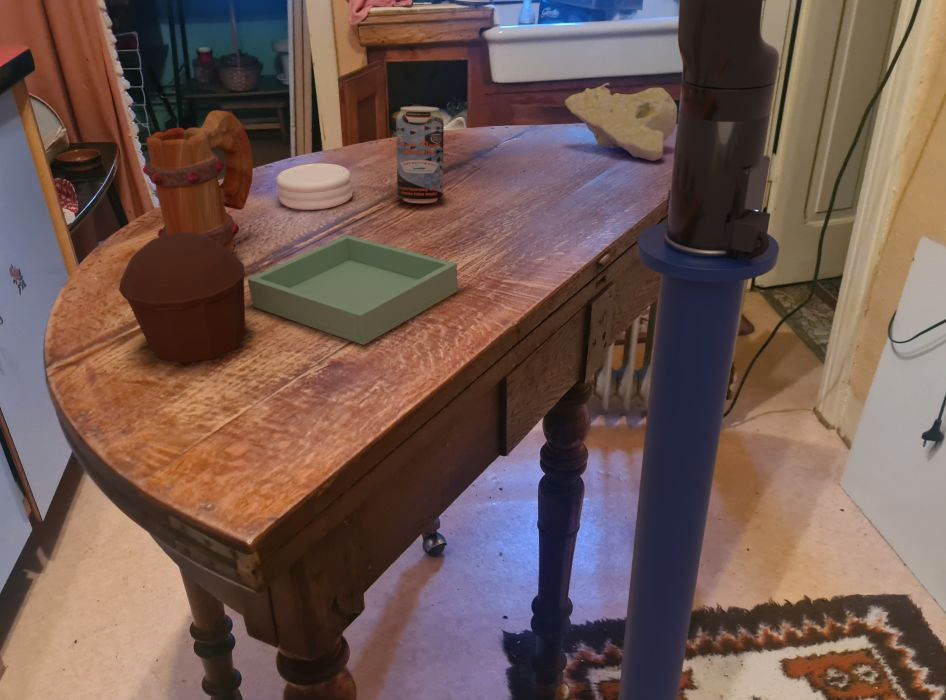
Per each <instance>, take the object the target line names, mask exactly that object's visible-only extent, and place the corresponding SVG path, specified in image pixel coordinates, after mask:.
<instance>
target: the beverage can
mask: <svg viewBox="0 0 946 700" xmlns="http://www.w3.org/2000/svg"><path fill="white" fill-rule="evenodd" d="M444 122H445V121H444V118H443V116H442V114H441V113H440V108H439V107H435V106H412V105H411V106H401V107H400V112H399V113H398V115H397V117H396V121H395V123H396V128H395V129H396V187H397V188H396V190H397V192H396V193H397V196H398V197H400V198H402V201H403V202H406V203H409V204H432V203H436V202H437V201H438V199H439V198H442V197H443V195H444V129H445V128H444V127H445V126H444V125H445V124H444Z"/></svg>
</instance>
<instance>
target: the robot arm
mask: <svg viewBox="0 0 946 700" xmlns="http://www.w3.org/2000/svg"><path fill="white" fill-rule="evenodd" d="M764 1H766V0H679V3H678V4H679V5H678V24H677V44H678V45H677V46H678V49H679V54H680V57H681V62H682V73H681V86H680V94H679V104H678V112H677V122H676V133H675V142H674V143H675V144H674V154H673V162H672V171H671V173H672V174H671V180H670V189H668V191H667V192H668V193H667V202H668V211H667V219H666V222H667V226H666V228H667V230H666V232H665V243H666V245H667V246H668V247H669V248H671V249H673V250H675V251H677V252H679V253H682V254H686V255H690V256H695V257H703V258H730V259H737V258H738V257H739V256H741V255H742V254H743V253H744V252H746V256H747V258H749V259H751V258H754V257H757V256H760V255H762V254H763V253H765V252H766V250H767V249H768V247H769V239H768V237H767V233H768V232H769V225H770V219H771V213H769V212H765V211H763V206H764V200H765V194H766V186H767V181H768V175H769V169H770V164H771V157H770V156H769V155H767V154H765V153H766V148H767V147H766V146H767V141H768V134H769V128H770V121H771V115H772V110H773V103H774V98H775V90H776V84H777V78H778V73H779V65H780V53H779V51H778V49H777V48H776V47H775V46H773V45H771V44H769V43H767V42H766V41H765V40H764V38H763V36H762V33H761V28H762V27H761V25H762V13H763V3H764ZM758 246H759V247H758ZM757 247H758V248H757Z"/></svg>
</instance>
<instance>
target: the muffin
mask: <svg viewBox="0 0 946 700" xmlns="http://www.w3.org/2000/svg"><path fill="white" fill-rule="evenodd" d="M245 271H246V270H245V263H243V262H242V261H241V260H240V259H239V258H238V257H237V256H236V255H235V254H234V253H233V252H232V253H231V252H230V251H229V250H228V249H227V248H225V247H224V246H223V245H221V244H219V243H218V242H216V241H214V240H212V239H210V238H208V237H205V236H202V235H199V234H194V233H174V234H168V235H163V236H161V237H159V236H158V237H156V238H153V239H151V240H150V241H148V242H147V243H146V244H145V245H143V246H142V247H141V248H140V249H139V250H137V251H136V252H135V253H134V254H133V255H132V256H131V258H130V259H129V261H128V264H127V266H126V267H125V270H124V272H123V275H122V277H121V278H120V282H119V287H118V291H119V292H120V294H121V295H122V297H123V298H124V299H125V300H127V302H128V304H129V307H130V308H131V310H132V313H133V316H134V317H135V319H136V321H137V324H138V326H139V328H140V330H141V332H142V334H143V337H144V339H145V340H146V343H147V345H148V347H149V349H151V351H152V352H154V354H155V356H156V357H157V360H163V361H170V362H175V363H179V364H187V363H193V362H199V361H207V360H214V359H216V358H218V357H220V356H222V355H224V354H226V353H228V352H230V351H233V350H235V349H238V347H239V345H240V343H241V341H242V339H243V338H244V337H245V336H246V309H245V307H246V305H245V276H246V272H245Z"/></svg>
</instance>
